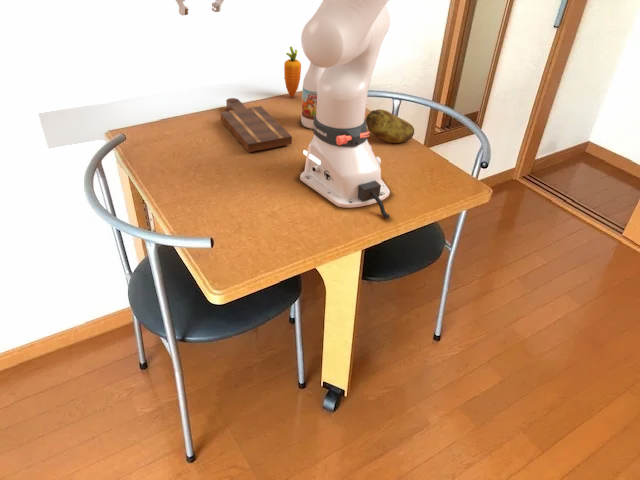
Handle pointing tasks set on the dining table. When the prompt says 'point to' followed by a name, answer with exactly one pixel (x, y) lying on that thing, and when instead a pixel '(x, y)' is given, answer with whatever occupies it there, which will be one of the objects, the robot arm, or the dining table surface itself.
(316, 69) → the milk bottle
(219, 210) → the dining table surface
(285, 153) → the dining table surface
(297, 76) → the carrot
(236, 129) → the cutting board
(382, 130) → the potato
